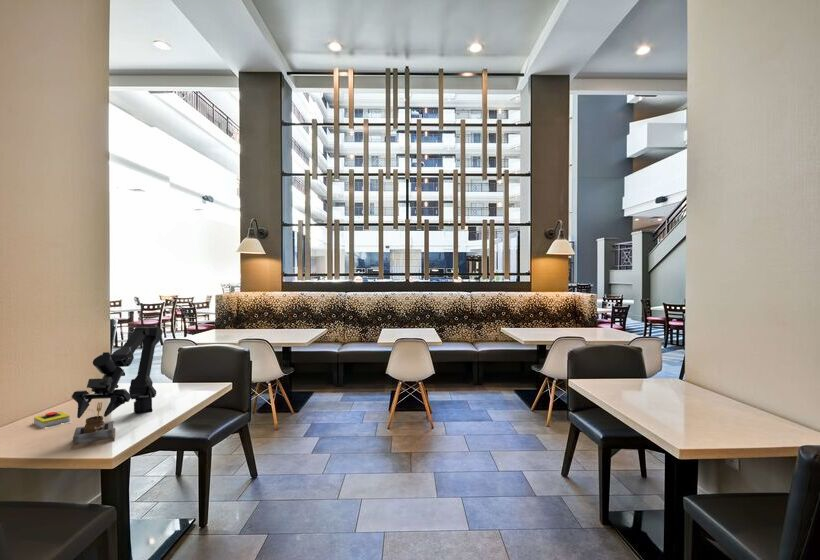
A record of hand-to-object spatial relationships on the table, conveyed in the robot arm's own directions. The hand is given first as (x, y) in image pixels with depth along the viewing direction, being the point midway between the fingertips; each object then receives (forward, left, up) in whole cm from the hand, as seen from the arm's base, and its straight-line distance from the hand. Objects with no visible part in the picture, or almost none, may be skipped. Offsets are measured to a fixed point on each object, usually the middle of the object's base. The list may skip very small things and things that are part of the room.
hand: (91, 417), depth 148 cm
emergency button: (+15, -37, -10) cm, 41 cm away
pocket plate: (-1, -1, -9) cm, 9 cm away
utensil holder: (-1, -1, -8) cm, 8 cm away
